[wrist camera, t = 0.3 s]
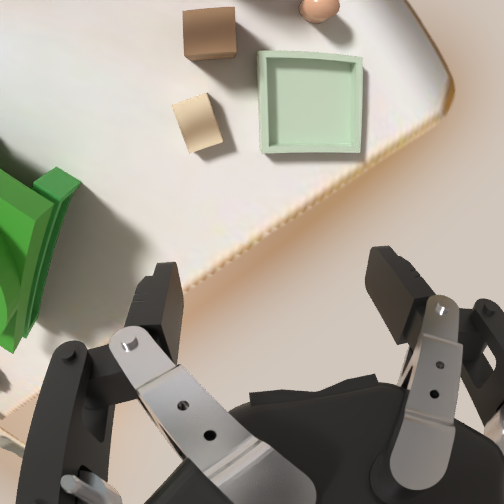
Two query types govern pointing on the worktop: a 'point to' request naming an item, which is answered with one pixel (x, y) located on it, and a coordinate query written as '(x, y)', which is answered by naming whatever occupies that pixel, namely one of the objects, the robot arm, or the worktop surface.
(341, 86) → the tray
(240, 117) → the worktop surface
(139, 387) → the robot arm
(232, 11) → the walnut block
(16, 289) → the tank
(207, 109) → the beech slab
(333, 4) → the brown egg
